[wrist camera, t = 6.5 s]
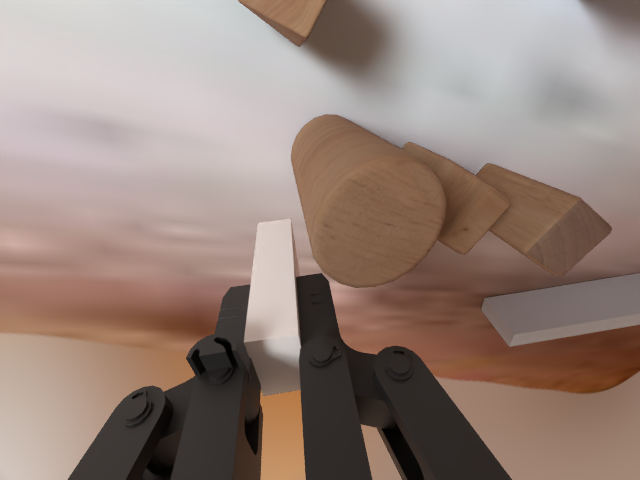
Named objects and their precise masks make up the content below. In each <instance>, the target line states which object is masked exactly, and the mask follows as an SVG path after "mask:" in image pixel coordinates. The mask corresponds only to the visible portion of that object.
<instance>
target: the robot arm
mask: <svg viewBox="0 0 640 480" xmlns="http://www.w3.org/2000/svg"><path fill="white" fill-rule="evenodd" d="M220 309H221V311H220V313H219V317H218V319H219V320H218V322H217V326H216V331H215V334H213V335H210V336H207V337H205V338H203V339H202V340H200V341H198V342H197V343H196V344H195V345H194V346H193V347H192V348H191V349H190V351H189V353H188V355H187V357H186V359H187V361H188V363H189V364H190V366H191V367H192V369H193V371H194V373H195V376H194V377H193V378H191V379H190V380H188V381H186V382H185V383H183V384H180V385H178V386H176V387H173V388H171V389H169V390H167V391H165V392H163V391H162V390H161V388H158V387H155V386H149V387H143V388H140V389H138V390H136V391H134V392H132V393H131V394H130V395H128V396H127V397H126V398H124V399H123V400H122V401H121V403H120V404H119V405H118V406H117V407H116V408H115V410H114V411H113V413H112V414H111V416H110V417H109V419H108V420H107V422H106V423H105V425H104V426H103V428H102V429H101V431H100V432H99V434H98V435H97V437H96V438H95V440H94V441H93V443H92V444H91V446H90V447H89V449H88V450H87V452H86V453H85V455H84V456H83V458H82V459H81V460H80V462H79V464H78V465H77V466H76V468H75V470H74V471H73V472H72V474H71V475H70V477H69V478H68V480H260V475H261V450H262V426H263V413H262V407H261V405H260V391H262V393H263V396H267V395H273V394H279V393H285V392H291V391H297V390H301V404H302V421H303V438H304V456H305V473H306V480H372V476H371V471H370V467H369V462H368V457H367V452H366V448H365V443H364V438H363V434H362V429H361V424H363V425H367V426H372V427H377V429H378V431H379V434H380V435H381V437H382V439H383V442H384V443H385V445H386V448H387V450H388V452H389V454H390V456H391V458H392V460H393V462H394V464H395V466H396V468H397V470H398V472H399V474H400V476H401V478H402V480H512V479H511V478H510V476H509V475H508V474H507V472H506V471H505V470H504V469H503V467H502V466H501V465H500V463H499V462H498V461H497V459H496V458H495V457H494V455H493V454H492V453H491V451H490V450H489V449H488V447H487V446H486V445H485V444H484V442H483V441H482V439H481V438H480V437H479V435H478V434H477V433H476V431H475V430H474V429H473V427H472V426H471V425H470V423H469V422H468V421H467V420H466V418H465V417H464V415H463V414H462V413H461V411H460V410H459V409H458V408H457V406H456V405H455V404H454V402H453V401H452V400H451V398H450V397H449V396H448V394H447V393H446V392H445V390H444V389H443V388H442V386H441V385H440V384H439V382H438V381H437V380H436V378H435V377H434V376H433V374H432V373H431V372H430V370H429V369H428V368H427V366H426V365H425V364H424V362H423V361H422V360H421V358H420V357H418V356H417V355H416V354H415V353H414V352H413V351H411V350H409V349H407V348H405V347H399V346H391V347H386V348H385V349H383V350H382V351H380V352H379V353H378V354H377V355H375V354H368V353H362V352H358V351H355V350H353V349H351V348H350V347H349V346H347V345H346V344H345V343H344V341H343V340H342V338H341V336H340V333H339V328H338V323H337V319H336V314H335V309H334V304H333V300H332V295H331V290H330V285H329V281H328V280H327V279H326V278H325V277H324V276H323V274H322V273H320V274H313V275H306V276H299V265H298V259H297V253H296V247H295V241H294V235H293V229H292V224H291V218H290V219H283V220H276V221H268V222H261V223H258V228H257V236H256V245H255V253H254V261H253V269H252V278H251V285H244V286H237V287H230V289H229V290H228V292H227V293H226V294H225V296H224V297H223V300H222V304H221V308H220Z"/></svg>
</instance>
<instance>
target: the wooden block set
mask: <svg viewBox="0 0 640 480" xmlns="http://www.w3.org/2000/svg"><path fill="white" fill-rule="evenodd" d="M238 1H239V2H240V3H241V4H243V5H244V6H245V7H247V8H248V9H249V10H250V11H252V12H253V13H254V14H256V15H257V16H258V17H260V18H261V19H262V20H264V21H265V22H266V23H268V24H269V25H270V26H271V27H273V28H274V29H275V30H277V31H278V32H279V33H281V34H282V35H283V36H285V37H286V38H287V39H289V40H290V41H291V42H292V43H294V44H295V45H296V46H298V47H300V46H301V45H302V44H303V42H304V41H305V40H306V39H307V38H308V37H309V35H310V33H311V31H312V29H313V27H314V25H315V23H316V21H317V19H318V17H319V15H320V14H321V12H322V10H323V8H324V6H325V4H326V2H327V0H238ZM291 161H292V166H293V171H294V175H295V180H296V184H297V188H298V193H299V197H300V201H301V206H302V210H303V214H304V219H305V223H306V227H307V232H308V236H309V240H310V245H311V249H312V253H313V258H314V259H315V261H316V262H317V264H318V265H319V267H320V268H321V270H322V271H323V272H324V273H325V274H327V275H328V276H329V277H331V278H332V279H334V280H335V281H337V282H338V283H340V284H343V285H347V286H351V287H355V288H361V287H375V286H378V285H382V284H385V283H388V282H391V281H394V280H395V279H397V278H399V277H400V276H402V275H404V274H405V273H407V272H409V271H410V270H412V269H413V268H414V267H415V266H416V265H417V264H418V263H419V262H420V261H421V260H422V259H423V258H425V257H426V255H427V254H428V252H429V251H430V249H431V248H432V247H433V245H434V244H435V242H436V241H437V239H438V240H439V241H440V242H442V243H443V244H445V245H446V246H448V247H450V248H451V249H453V250H455V251H456V252H458V253H461V254H466V253H467V252H469V250H470V249H471V248H472V247H473V246H474V245H475V244H476V243H477V242H478V241H479V240H480V239H481V237H482V236H483V235H484V234H485V233H486V232H487V231H488V230H489V231H491V232H492V233H494V234H495V235H496V236H498V237H499V238H501V239H502V240H504V241H505V242H506V243H508V244H509V245H511V246H512V247H514V248H515V249H516V250H518V251H519V252H521V253H522V254H524V255H525V256H526V257H528V258H529V259H531V260H532V261H534V262H535V263H537V264H538V265H540V266H541V267H543V268H544V269H545V270H547V271H548V272H550V273H551V274H553V275H557V276H562V275H564V274H565V273H566V272H567V271H568V270H570V269H571V268H572V267H573V266H574V265H575V264H576V263H577V262H578V261H580V260H581V259H582V258H583V257H584V256H585V255H586V254H587V253H588V252H590V251H591V250H592V249H593V248H594V247H595V246H596V245H597V244H598V243H600V242H601V241H602V240H603V239H604V238H605V237H606V236H607V235H608V234H610V232H611V230H612V227H611V226H610V225H609V224H608V223H607V222H606V221H605V220H604V219H603V218H602V217H601V216H600V215H598V214H597V213H596V212H595V211H594V210H593V209H592V208H591V207H590V206H589V205H588V204H586V203H585V202H584V201H583V200H582V199H581V198H579V197H577V196H574V195H572V194H569V193H567V192H564V191H561V190H559V189H556V188H554V187H551V186H548V185H546V184H543V183H541V182H538V181H536V180H533V179H530V178H528V177H525V176H523V175H520V174H518V173H515V172H512V171H510V170H507V169H505V168H502V167H499V166H497V165H494V164H490V163H488V164H486V165H485V166H484V167H483V168H482V169H481V170H480V171H479V173H478V174H477V175H476V176H475V175H474V174H472V173H470V172H469V171H467V170H466V169H464V168H463V167H461V166H459V165H458V164H456V163H455V162H453V161H451V160H449V159H447V158H445V157H443V156H440V155H438V154H436V153H434V152H432V151H429V150H427V149H425V148H423V147H421V146H419V145H416V144H414V143H412V142H408V143H406V144H405V146H404V147H403V148H402V149H400V148H398V147H397V146H395V145H393V144H391V143H389V142H387V141H386V140H384V139H382V138H380V137H378V136H376V135H375V134H373V133H371V132H369V131H367V130H366V129H364V128H362V127H360V126H358V125H356V124H355V123H353V122H351V121H349V120H347V119H345V118H343V117H341V116H338V115H327V114H326V115H323V116H319V117H316V118H314V119H313V120H311V121H310V122H308V123H307V124H306V125H304V127H303V128H302V129H301V130H300V132H299V133H298V134H297V136H296V138H295V141H294V144H293V146H292V154H291Z"/></svg>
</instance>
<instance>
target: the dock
mask: <svg viewBox="0 0 640 480" xmlns="http://www.w3.org/2000/svg"><path fill="white" fill-rule="evenodd" d="M481 311H482V312H483V313H484V315H485V316H486V317H487V318H488V320H489V321H490V322H491V324H492V325H493V326H494V328H495V329H496V330H497V331H498V333H499V334H500V335H501V337H502V338H503V339H504V341H505V342H506V343H507V344H508V346H509V347H511V346H517V345H523V344H529V343H535V342H540V341H546V340H552V339H558V338H564V337H570V336H576V335H582V334H588V333H594V332H599V331H605V330H611V329H617V328H623V327H629V326H635V325H640V273H636V274H630V275H624V276H618V277H612V278H606V279H599V280H593V281H587V282H581V283H575V284H569V285H563V286H556V287H550V288H544V289H538V290H532V291H526V292H519V293H513V294H507V295H501V296H495V297H489V298H484V301H483V305H482V308H481Z"/></svg>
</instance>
